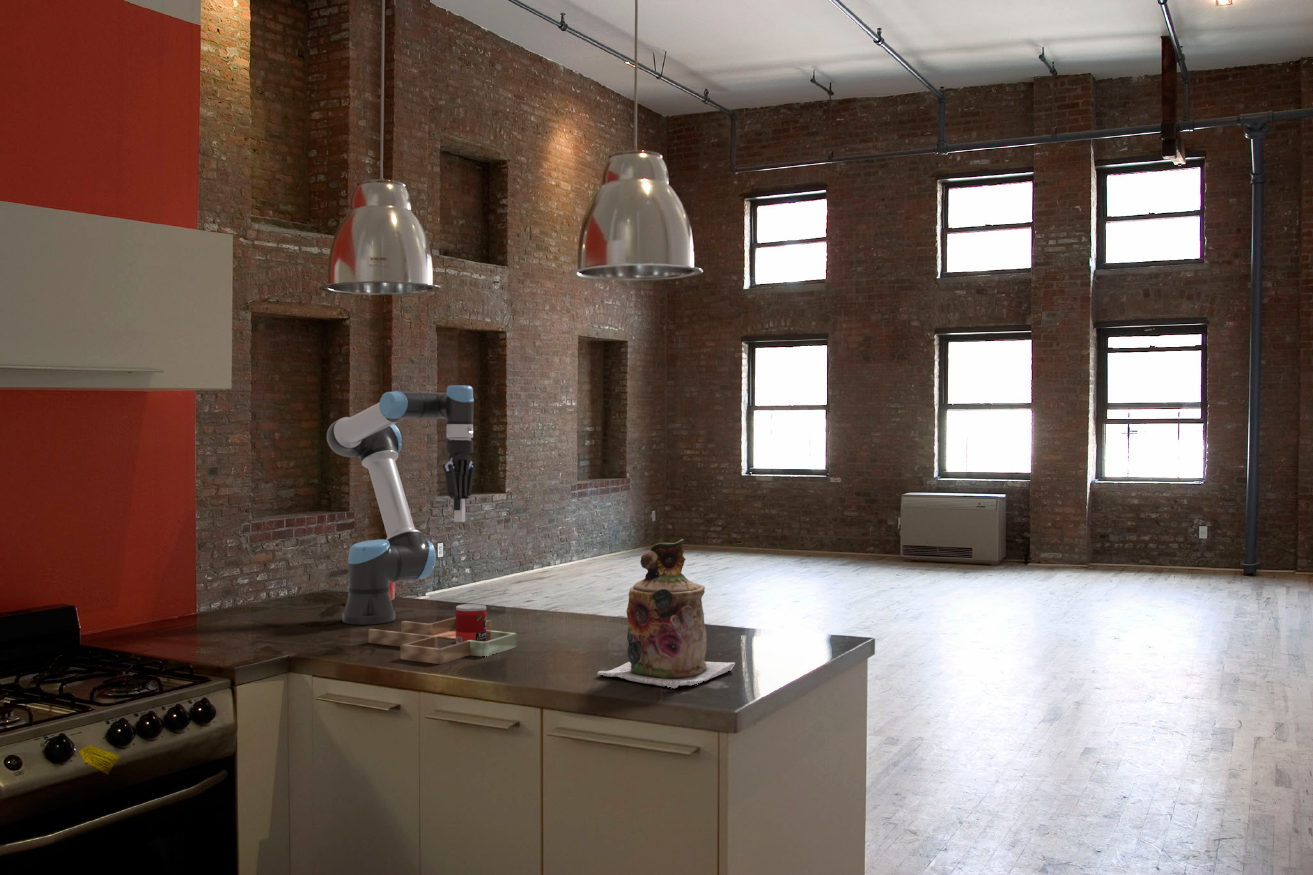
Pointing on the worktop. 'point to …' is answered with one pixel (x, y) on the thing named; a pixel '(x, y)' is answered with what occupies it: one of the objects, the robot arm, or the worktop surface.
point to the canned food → (470, 622)
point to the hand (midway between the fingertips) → (459, 521)
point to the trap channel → (423, 641)
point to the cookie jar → (666, 625)
